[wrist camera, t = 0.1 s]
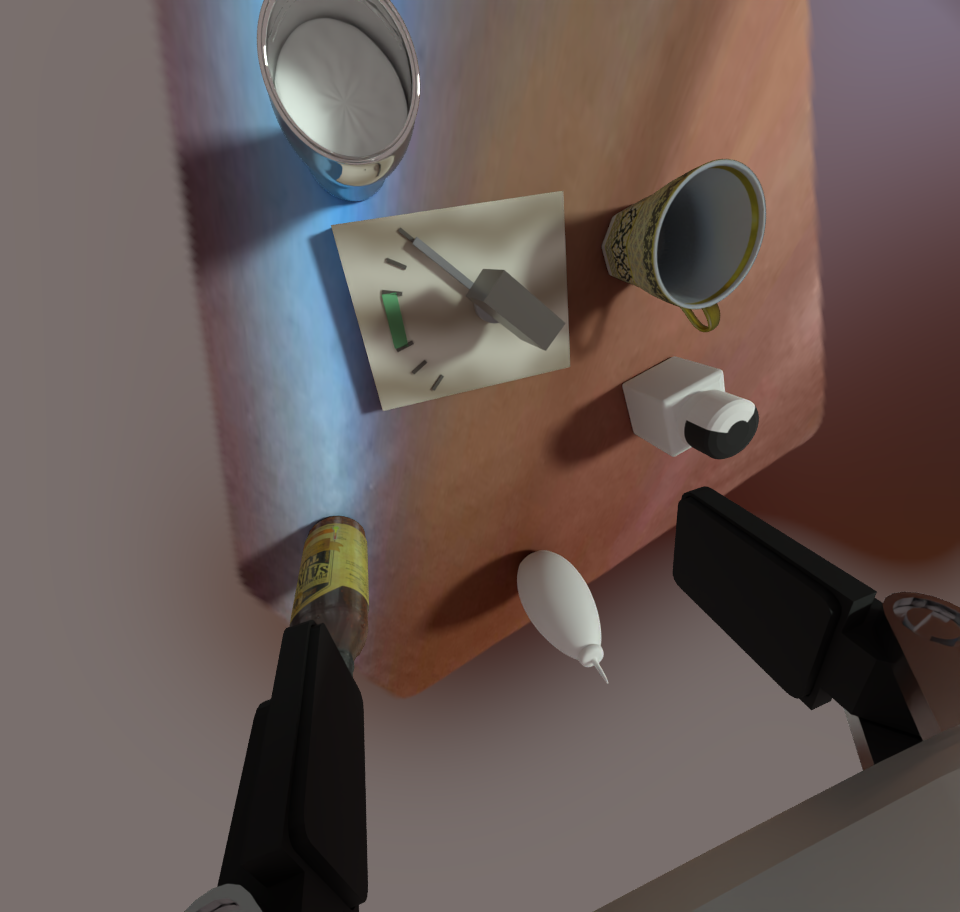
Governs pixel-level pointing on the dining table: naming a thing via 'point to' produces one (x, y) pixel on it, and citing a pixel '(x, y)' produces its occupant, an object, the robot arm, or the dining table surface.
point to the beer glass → (341, 87)
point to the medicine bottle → (689, 410)
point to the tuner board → (453, 294)
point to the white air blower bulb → (561, 606)
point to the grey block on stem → (504, 302)
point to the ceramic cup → (691, 238)
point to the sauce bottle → (335, 584)
